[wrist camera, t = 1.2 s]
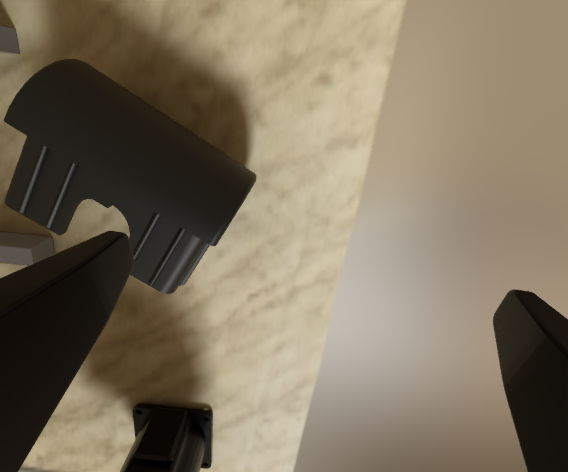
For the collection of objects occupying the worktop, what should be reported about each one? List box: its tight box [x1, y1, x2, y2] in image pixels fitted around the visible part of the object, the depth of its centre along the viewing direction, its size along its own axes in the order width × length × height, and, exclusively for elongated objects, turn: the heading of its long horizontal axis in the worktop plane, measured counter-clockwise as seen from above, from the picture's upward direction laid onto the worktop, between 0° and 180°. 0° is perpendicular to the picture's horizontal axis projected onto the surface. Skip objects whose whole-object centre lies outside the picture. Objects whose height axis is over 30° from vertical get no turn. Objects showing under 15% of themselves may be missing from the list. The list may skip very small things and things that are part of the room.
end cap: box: [4, 59, 256, 294], centre depth 18 cm, size 10×7×7 cm
